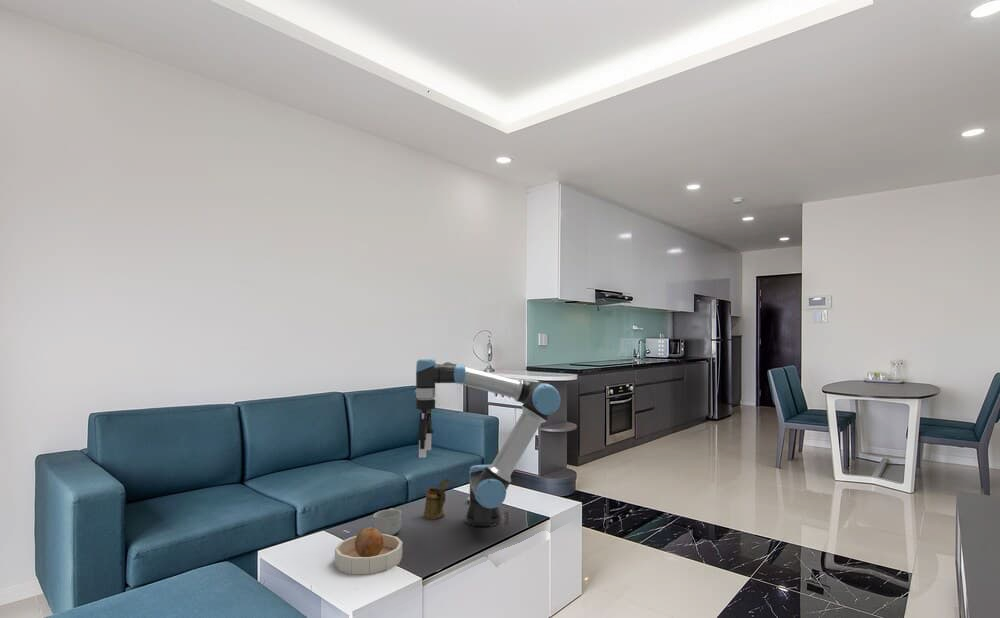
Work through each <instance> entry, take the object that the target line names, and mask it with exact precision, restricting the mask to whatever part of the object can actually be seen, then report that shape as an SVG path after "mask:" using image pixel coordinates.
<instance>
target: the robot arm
mask: <svg viewBox="0 0 1000 618" xmlns="http://www.w3.org/2000/svg"><path fill="white" fill-rule="evenodd" d="M415 369H416V370H415V388H416V389H415V390H414V393H415V395H416V396H415V398H416V400H415V409H416V410H419V411H420V410H421V411H420V413H419V422H418V434H417V435H418V436H417V437H416V440H417V441H418V458H419V459H420V458H421V459H422V458H423V459H425V458H427V451H432V434H433V433H434V430H433V426H432V423H433V422H432V410H434V409H436V384H459V385H463V386H466V387H469V388H474V389H478V390H482V391H486V392H489V393H492V394H496V395H500V396H503V397H508V398H512V399H514V401H515V402H518V403H521V404H522V406H521V408H522V413H521V414H520V416H519V418H518V419H517V421H516V423H515V425H514V426H513V428H512V430H511V431H510V432H509V434H508V436H507V438H506V440H505V441H504V443H503V444H502V446H501V448H500V450H499V451H498V453H497V454H496V456H495V458H494V459H493V461H492V463H490V464H476V465H472V466H471V467H469V497H470V501H469V503H468V506H467V509H466V513H465V523H466V524H467V525H469V526H471V525H472V526H473V527H476V526H479V527H480V526H489V527H492V526H491V525H494V524H497V523H499V522H500V521H501V522H502V513H501V510H500V506H501V505H503V503H504V501H505V500H506V497H507V491H508V488H509V486H510V484H511V482H512V479H511V475H512V473H513V471H514V470H515V468H516V466H517V465H518V464H519V461H520V459H521V457H522V456H523V455H524V453H525V451H526V449H527V448H528V446H529V445H530V443H531V441H532V439H533V438H534V437H535V436H534V435H535V434H536V432H537V430H538V429H539V427H540V426H541V424H542V423H546V422H547V421H548V419H549V418H550V416H551V415H552V414H554V413H555V412H557V410H558V409H559V407H560V405H561V395H560V393H559V391H558V389H557V388H555V386H553V385H551V384H550V383H545V382H542V381H533V380H531V381H530V380H525V379H518V380H515V379H511V378H508V377H505V376H500V375H497V374H493V373H490V372H486V371H482V370H478V369H475V368H472V367H471V368H470V367H466V365H465V364H463V363H462V364H461V363H452V362H444V363H442V364H440V363H439V364H438V363H437V362H436V360H435V359H433V358H432V359H431V358H430V359H429V358H428V359H427V358H424V359H422V358H421V359H418V360H417V361H416V368H415ZM499 524H500V523H499ZM497 525H498V524H497ZM494 526H495V525H494ZM479 527H478V528H479ZM480 528H481V527H480Z"/></svg>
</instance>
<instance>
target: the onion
mask: <svg viewBox="0 0 1000 618" xmlns="http://www.w3.org/2000/svg"><path fill="white" fill-rule="evenodd" d="M356 536H357V537H356V539H355V549H356V552H357V553H358V554H359V555H360V556H361V557H373V556H377V555H378V554H379V553H380V552H381V550H382V548H383V536H382V534H381V533H380V532H379V531H378V530H377V529H375V528H374V527H370V526H369V527H365V528H362V529H360V530H359V532H358V533H357V534H356Z"/></svg>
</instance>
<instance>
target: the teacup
mask: <svg viewBox="0 0 1000 618" xmlns="http://www.w3.org/2000/svg"><path fill="white" fill-rule="evenodd" d="M373 526H374V527H373V528H375V529H377V530H378V531H379V532H380V533H381V534H387V535H391V536H395V535H396V534H397V533H398V532H399V531H400V530H401V528H402V511H401V510H399V509H394V508H393V507H391V508H388V509H383V510H379V511H377V512H375V513H373Z"/></svg>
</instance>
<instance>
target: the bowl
mask: <svg viewBox="0 0 1000 618" xmlns="http://www.w3.org/2000/svg"><path fill="white" fill-rule="evenodd" d="M382 536H383V548H382V550H381V552H380V553H379V554H378V555H377V556H373V557H361V556H360V555H359V554H358V553H357V552H356V549H355V539H356V537H357V535H354V536H351V537H350V538H349V537H348V538H347V539H344V540H342V541H340V542H339V543H338V544H337V545H336V546H335V548H334V566H335V567H336V569H337V570H338V571H340V572H343V573H346V574H349V575H371V574H377V573H381V571H382V572H386V571H388V570H391V569H393V568H394V567H396V566H398V565H399V564H400V563H401V560H402V558H403V541H402V540H401V539H400V538H399V537H398V536H395V535H387V534H382Z"/></svg>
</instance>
